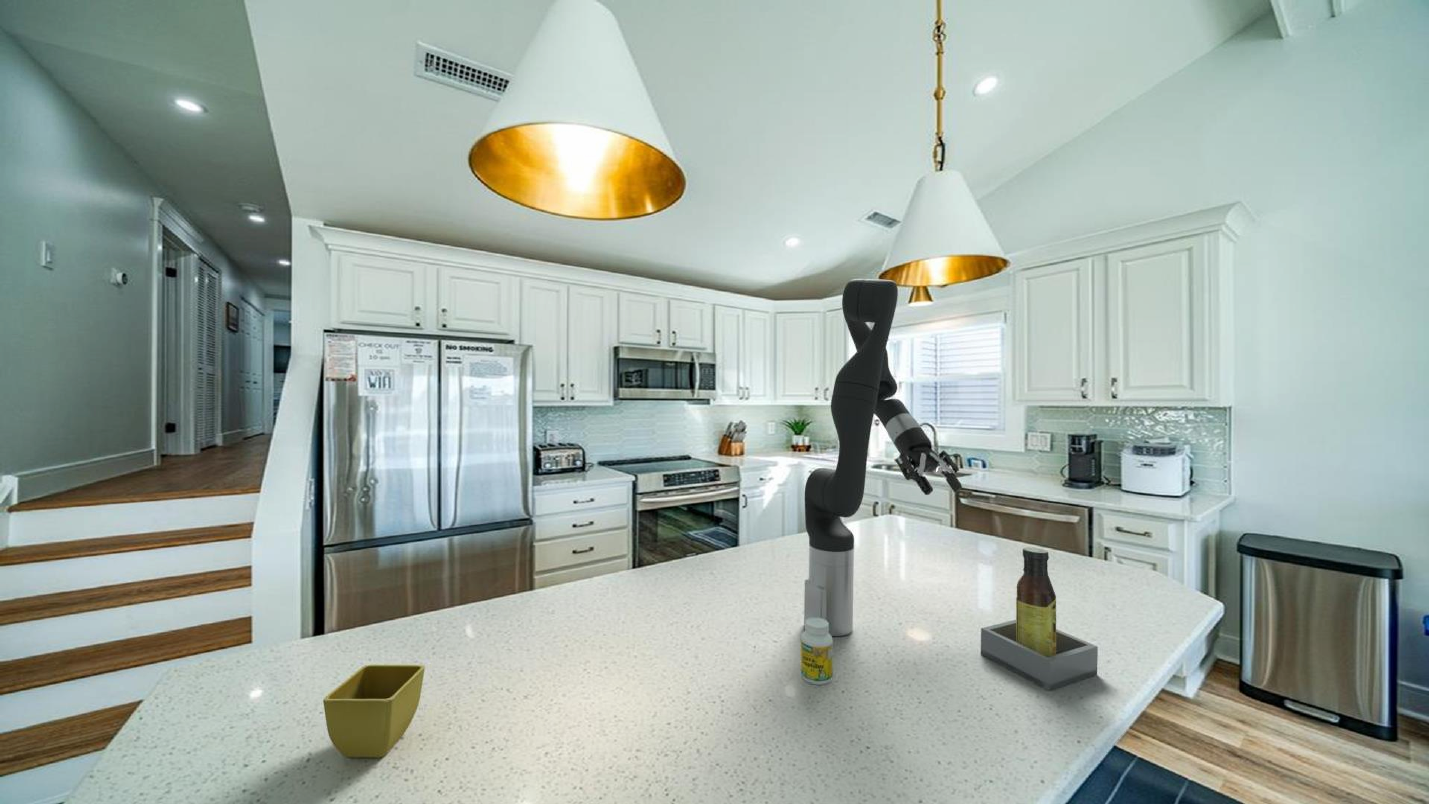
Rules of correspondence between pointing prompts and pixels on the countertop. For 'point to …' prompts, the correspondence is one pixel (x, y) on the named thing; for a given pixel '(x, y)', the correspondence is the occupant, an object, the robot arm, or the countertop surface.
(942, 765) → the countertop surface
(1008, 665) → the gray tray
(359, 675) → the flower pot
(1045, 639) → the sauce bottle
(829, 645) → the supplement bottle
